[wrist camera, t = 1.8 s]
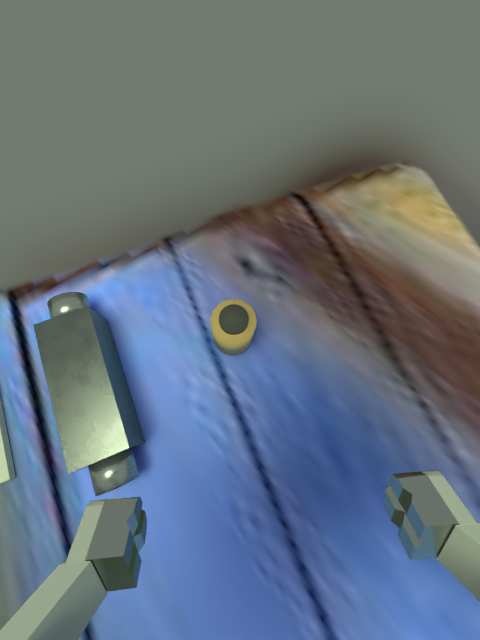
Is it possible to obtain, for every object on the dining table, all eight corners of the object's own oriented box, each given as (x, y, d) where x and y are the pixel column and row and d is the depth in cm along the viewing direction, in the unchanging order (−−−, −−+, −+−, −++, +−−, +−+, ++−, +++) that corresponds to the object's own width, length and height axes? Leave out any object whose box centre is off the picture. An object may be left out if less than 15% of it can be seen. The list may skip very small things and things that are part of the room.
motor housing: (153, 469, 35) (138, 479, 29) (101, 491, 34) (76, 507, 28) (101, 300, 41) (81, 282, 35) (56, 316, 40) (27, 300, 34)
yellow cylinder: (241, 362, 39) (244, 349, 31) (206, 344, 40) (201, 328, 32) (257, 328, 41) (264, 308, 33) (224, 312, 41) (223, 289, 33)
